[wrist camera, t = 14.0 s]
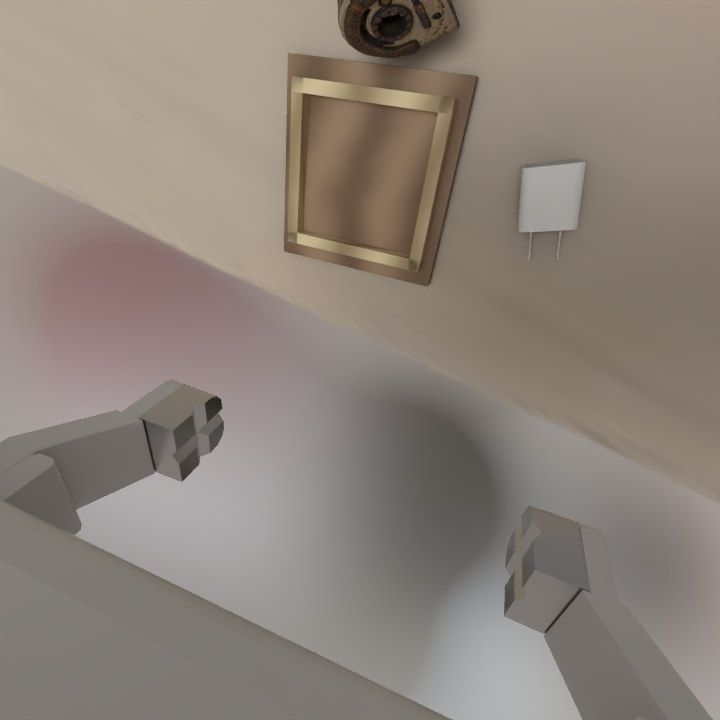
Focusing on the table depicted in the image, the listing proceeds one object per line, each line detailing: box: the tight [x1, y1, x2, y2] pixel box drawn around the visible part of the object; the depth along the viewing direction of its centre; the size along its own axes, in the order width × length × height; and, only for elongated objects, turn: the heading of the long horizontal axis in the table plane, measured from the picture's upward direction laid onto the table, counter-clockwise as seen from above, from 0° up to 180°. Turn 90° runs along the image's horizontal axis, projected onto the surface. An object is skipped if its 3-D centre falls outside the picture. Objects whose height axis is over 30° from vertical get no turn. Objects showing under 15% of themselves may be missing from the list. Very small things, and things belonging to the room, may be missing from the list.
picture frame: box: [284, 53, 478, 286], centre depth 34 cm, size 15×16×2 cm
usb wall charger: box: [518, 159, 586, 261], centre depth 30 cm, size 4×7×4 cm, turn 7°
